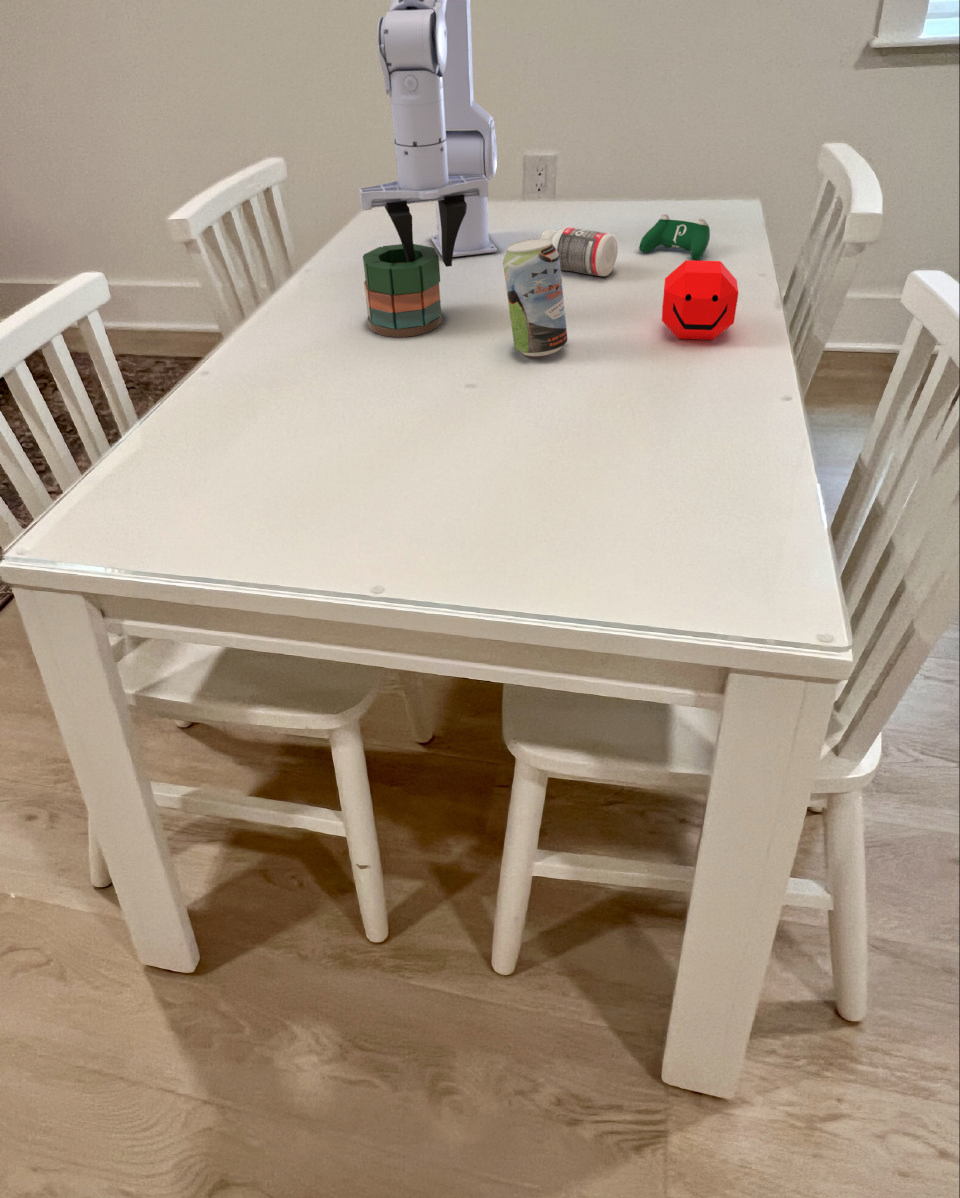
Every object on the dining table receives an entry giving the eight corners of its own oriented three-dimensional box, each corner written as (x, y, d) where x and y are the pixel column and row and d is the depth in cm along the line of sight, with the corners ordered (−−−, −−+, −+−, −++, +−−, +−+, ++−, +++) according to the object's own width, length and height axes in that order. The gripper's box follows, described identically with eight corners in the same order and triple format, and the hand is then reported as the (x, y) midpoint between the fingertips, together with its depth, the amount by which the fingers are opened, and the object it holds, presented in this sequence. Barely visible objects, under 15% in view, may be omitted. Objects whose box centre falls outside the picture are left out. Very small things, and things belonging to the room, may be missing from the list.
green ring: (363, 273, 109) (360, 248, 107) (432, 265, 110) (430, 240, 108) (371, 298, 102) (368, 271, 100) (444, 289, 103) (442, 263, 102)
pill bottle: (608, 229, 114) (541, 219, 118) (597, 272, 115) (531, 261, 120) (622, 239, 119) (557, 229, 123) (611, 281, 120) (548, 269, 124)
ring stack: (364, 313, 112) (357, 257, 107) (434, 304, 113) (429, 248, 109) (373, 341, 105) (366, 282, 101) (448, 331, 106) (444, 273, 102)
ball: (659, 345, 101) (666, 278, 96) (660, 318, 107) (667, 253, 102) (732, 348, 100) (742, 280, 95) (729, 320, 106) (738, 255, 101)
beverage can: (551, 367, 98) (552, 256, 90) (494, 354, 101) (490, 246, 93) (577, 346, 102) (580, 238, 94) (521, 334, 105) (520, 229, 97)
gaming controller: (703, 270, 124) (718, 231, 124) (698, 256, 121) (714, 215, 121) (642, 261, 128) (657, 222, 128) (636, 247, 125) (651, 207, 125)
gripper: (358, 155, 93) (374, 284, 101) (493, 141, 95) (497, 269, 104) (350, 140, 98) (365, 264, 107) (478, 128, 100) (482, 250, 109)
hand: (429, 266), depth 106 cm, fingers open, 4 cm apart
